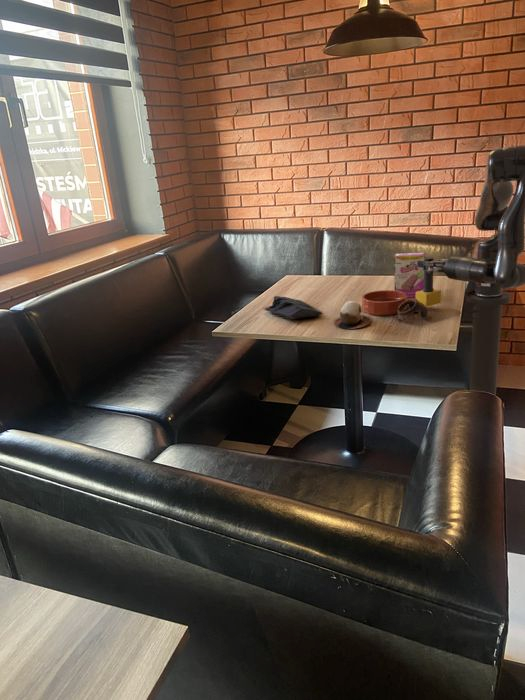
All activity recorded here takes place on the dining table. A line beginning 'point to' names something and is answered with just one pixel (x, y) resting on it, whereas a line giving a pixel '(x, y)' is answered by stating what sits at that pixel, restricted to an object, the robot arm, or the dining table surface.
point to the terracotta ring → (383, 302)
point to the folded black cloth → (291, 308)
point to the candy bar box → (408, 273)
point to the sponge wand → (428, 289)
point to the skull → (352, 316)
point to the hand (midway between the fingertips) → (421, 262)
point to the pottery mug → (412, 309)
